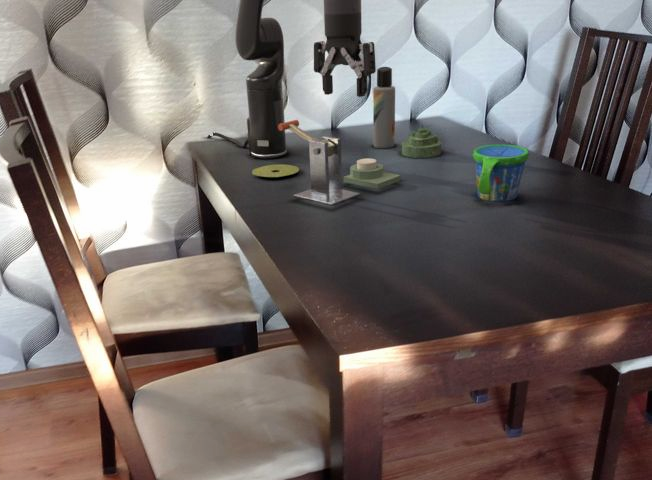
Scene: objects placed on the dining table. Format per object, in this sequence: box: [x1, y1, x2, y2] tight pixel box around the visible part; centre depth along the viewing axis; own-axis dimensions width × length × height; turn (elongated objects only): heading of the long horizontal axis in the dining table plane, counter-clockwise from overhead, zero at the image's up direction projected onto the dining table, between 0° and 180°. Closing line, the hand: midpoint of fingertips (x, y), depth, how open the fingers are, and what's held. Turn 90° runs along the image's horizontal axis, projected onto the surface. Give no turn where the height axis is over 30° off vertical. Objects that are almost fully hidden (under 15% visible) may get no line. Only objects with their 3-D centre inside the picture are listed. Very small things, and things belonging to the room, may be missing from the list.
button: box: [356, 158, 378, 170], centre depth 157 cm, size 4×4×2 cm
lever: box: [278, 119, 335, 157], centre depth 147 cm, size 13×5×2 cm, turn 45°
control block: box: [343, 163, 402, 190], centre depth 157 cm, size 10×8×4 cm
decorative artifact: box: [401, 124, 442, 159], centre depth 179 cm, size 10×7×10 cm
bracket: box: [293, 135, 361, 207], centre depth 147 cm, size 11×9×13 cm
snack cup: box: [472, 144, 530, 202], centre depth 142 cm, size 16×10×10 cm
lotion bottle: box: [372, 66, 396, 149], centre depth 185 cm, size 6×6×20 cm
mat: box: [251, 163, 300, 178], centre depth 167 cm, size 11×11×2 cm
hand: (344, 95), depth 149 cm, fingers open, 8 cm apart
